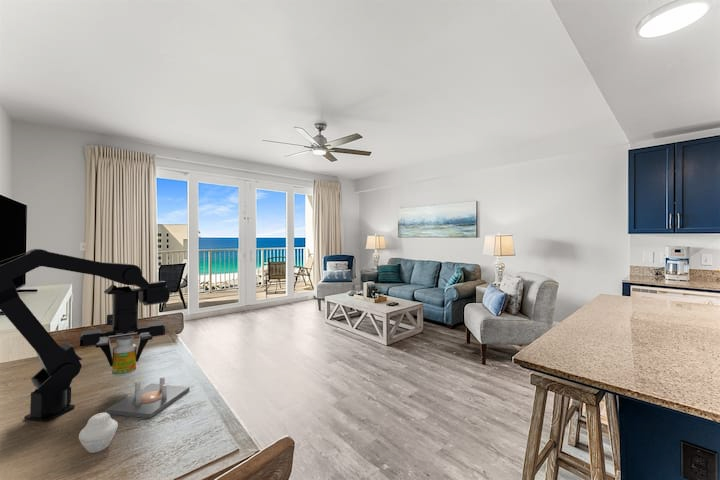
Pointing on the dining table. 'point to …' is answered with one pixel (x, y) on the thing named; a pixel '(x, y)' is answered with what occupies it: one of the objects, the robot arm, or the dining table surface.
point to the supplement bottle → (124, 356)
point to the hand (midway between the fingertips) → (124, 363)
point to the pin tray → (148, 400)
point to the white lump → (98, 432)
